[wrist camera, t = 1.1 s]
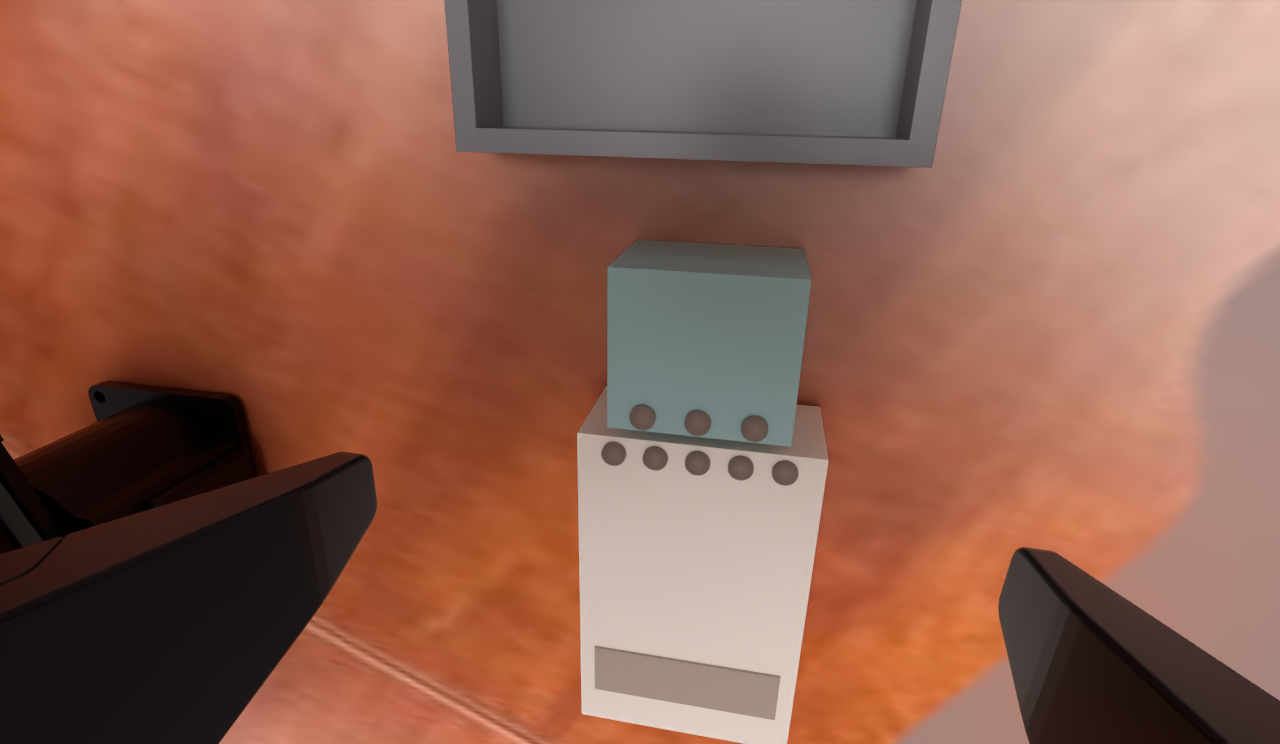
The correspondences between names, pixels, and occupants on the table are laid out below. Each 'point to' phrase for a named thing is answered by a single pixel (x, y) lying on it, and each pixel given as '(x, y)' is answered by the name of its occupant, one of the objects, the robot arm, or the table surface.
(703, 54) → the tray
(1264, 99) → the table surface
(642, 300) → the stub
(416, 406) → the table surface
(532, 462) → the table surface
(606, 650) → the pad
